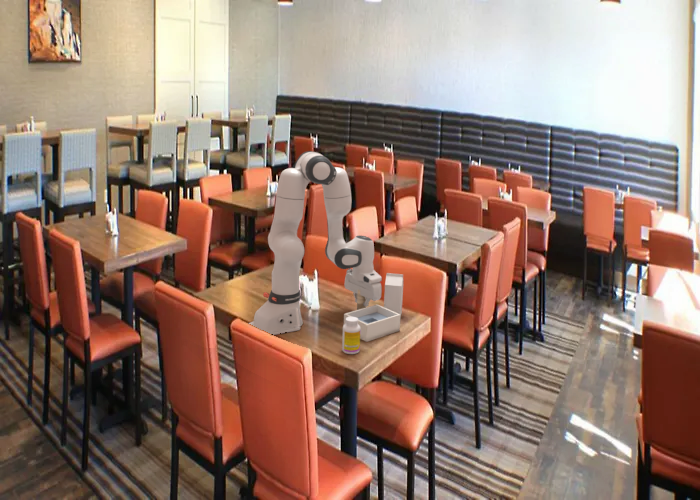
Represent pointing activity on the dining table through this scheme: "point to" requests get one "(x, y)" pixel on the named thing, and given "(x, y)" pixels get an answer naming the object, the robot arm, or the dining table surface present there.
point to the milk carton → (393, 292)
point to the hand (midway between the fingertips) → (361, 304)
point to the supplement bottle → (351, 336)
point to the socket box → (375, 321)
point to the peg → (360, 301)
